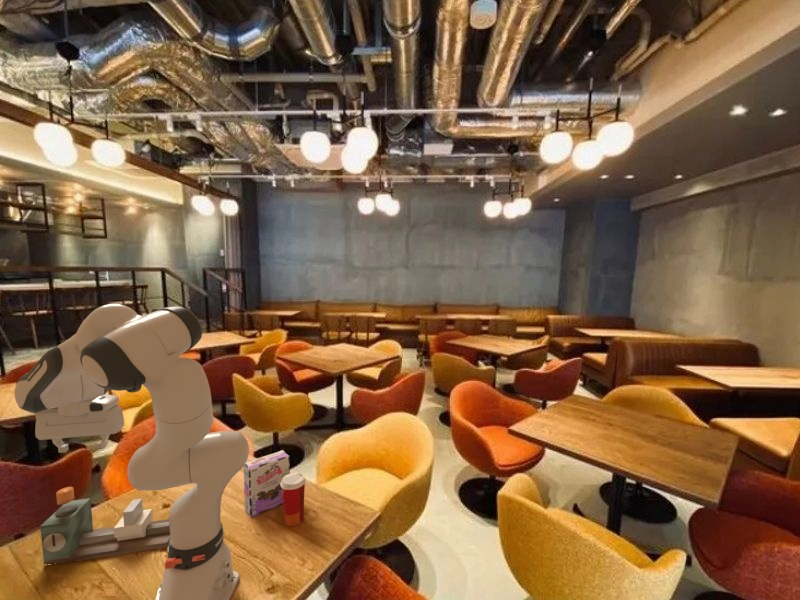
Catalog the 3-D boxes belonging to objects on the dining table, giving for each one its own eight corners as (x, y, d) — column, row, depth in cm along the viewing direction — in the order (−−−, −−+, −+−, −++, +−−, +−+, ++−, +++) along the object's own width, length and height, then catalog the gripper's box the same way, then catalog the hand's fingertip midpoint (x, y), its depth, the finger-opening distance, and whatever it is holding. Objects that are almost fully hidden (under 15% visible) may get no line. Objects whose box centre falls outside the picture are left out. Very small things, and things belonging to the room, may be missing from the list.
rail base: (166, 548, 106) (164, 509, 105) (42, 567, 100) (38, 526, 99) (181, 521, 118) (178, 486, 117) (70, 537, 111) (66, 499, 110)
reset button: (69, 503, 104) (68, 493, 103) (53, 505, 103) (53, 495, 103) (77, 496, 107) (76, 486, 107) (62, 497, 106) (61, 487, 106)
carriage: (142, 539, 107) (140, 511, 106) (115, 544, 106) (112, 514, 105) (153, 523, 114) (151, 496, 113) (127, 527, 112) (125, 499, 112)
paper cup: (297, 509, 123) (296, 469, 122) (311, 519, 119) (310, 477, 117) (276, 521, 117) (274, 479, 116) (290, 532, 113) (289, 488, 111)
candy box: (250, 518, 119) (248, 469, 118) (244, 509, 124) (242, 462, 122) (291, 501, 128) (289, 455, 126) (284, 493, 132) (283, 448, 131)
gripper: (26, 410, 99) (31, 459, 101) (113, 404, 104) (117, 451, 105) (43, 401, 105) (47, 448, 107) (125, 396, 110) (128, 441, 111)
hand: (83, 449), depth 106 cm, fingers open, 8 cm apart
